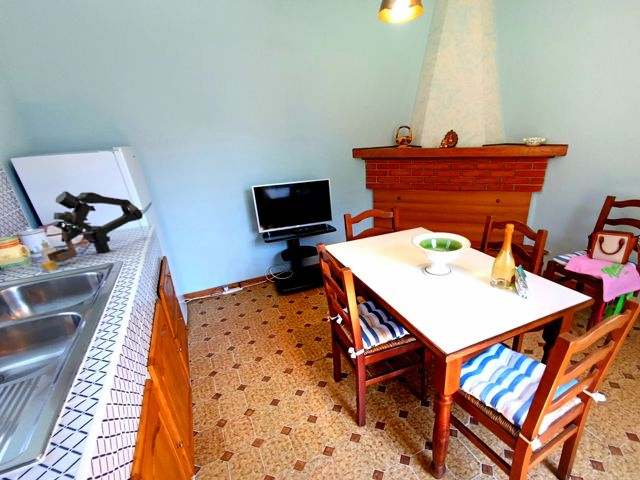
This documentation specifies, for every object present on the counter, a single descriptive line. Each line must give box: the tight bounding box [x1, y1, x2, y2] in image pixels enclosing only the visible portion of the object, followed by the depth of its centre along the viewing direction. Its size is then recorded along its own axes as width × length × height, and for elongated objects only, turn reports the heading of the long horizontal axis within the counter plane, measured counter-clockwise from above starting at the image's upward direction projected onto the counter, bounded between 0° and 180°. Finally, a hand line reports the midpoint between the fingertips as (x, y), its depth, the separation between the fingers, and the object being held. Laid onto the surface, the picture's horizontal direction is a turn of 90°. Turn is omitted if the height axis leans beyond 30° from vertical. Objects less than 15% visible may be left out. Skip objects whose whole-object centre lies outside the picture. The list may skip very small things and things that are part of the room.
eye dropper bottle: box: [38, 239, 57, 263], centre depth 150 cm, size 4×6×12 cm
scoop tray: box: [47, 231, 79, 263], centre depth 144 cm, size 10×7×12 cm
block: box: [40, 261, 59, 272], centre depth 141 cm, size 4×4×4 cm
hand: (64, 241), depth 145 cm, fingers closed on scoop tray, 2 cm apart
